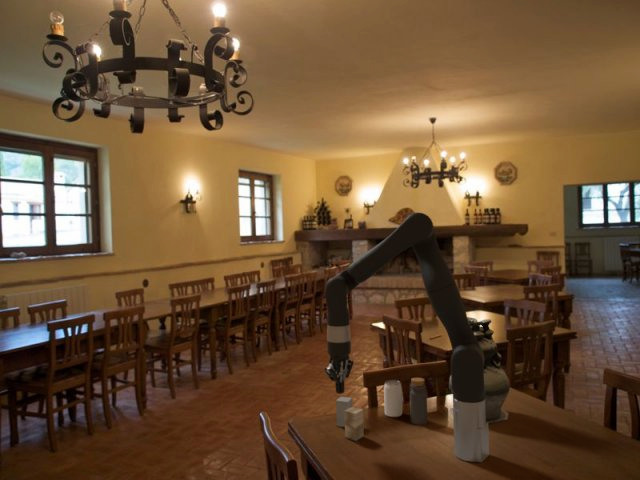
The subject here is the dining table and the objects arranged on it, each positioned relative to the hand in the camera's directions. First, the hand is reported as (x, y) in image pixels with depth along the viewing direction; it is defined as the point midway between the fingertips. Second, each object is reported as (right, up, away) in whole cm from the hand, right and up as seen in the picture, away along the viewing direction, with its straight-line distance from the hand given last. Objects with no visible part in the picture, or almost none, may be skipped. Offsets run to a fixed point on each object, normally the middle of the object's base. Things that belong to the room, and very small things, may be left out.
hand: (340, 392), depth 159 cm
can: (+21, -16, +25) cm, 36 cm away
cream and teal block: (+5, -16, +6) cm, 18 cm away
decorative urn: (+52, -15, +22) cm, 58 cm away
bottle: (+29, -16, +17) cm, 37 cm away
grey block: (+2, -16, +17) cm, 24 cm away
